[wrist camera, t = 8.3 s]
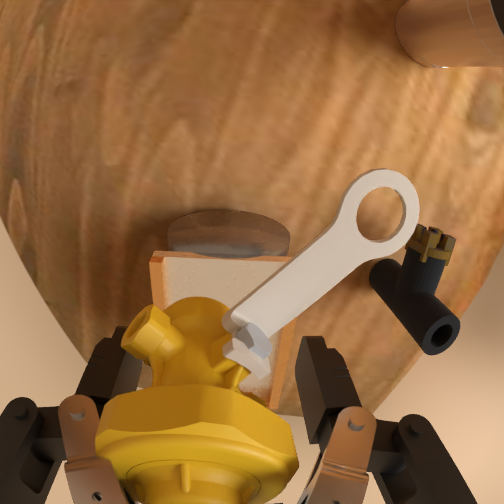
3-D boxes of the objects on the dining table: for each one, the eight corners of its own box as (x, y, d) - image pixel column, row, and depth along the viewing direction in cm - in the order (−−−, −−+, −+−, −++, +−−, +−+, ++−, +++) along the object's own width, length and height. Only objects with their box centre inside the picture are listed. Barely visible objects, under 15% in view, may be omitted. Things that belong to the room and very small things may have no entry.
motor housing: (178, 204, 36) (147, 265, 23) (281, 209, 37) (307, 272, 24) (182, 327, 44) (168, 408, 31) (266, 330, 45) (277, 412, 32)
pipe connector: (387, 209, 38) (456, 251, 24) (418, 216, 39) (490, 258, 25) (364, 289, 42) (413, 356, 28) (395, 292, 43) (449, 354, 29)
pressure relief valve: (117, 312, 13) (43, 525, 4) (331, 114, 11) (602, 150, 2) (206, 377, 15) (210, 572, 6) (404, 218, 13) (586, 363, 3)
